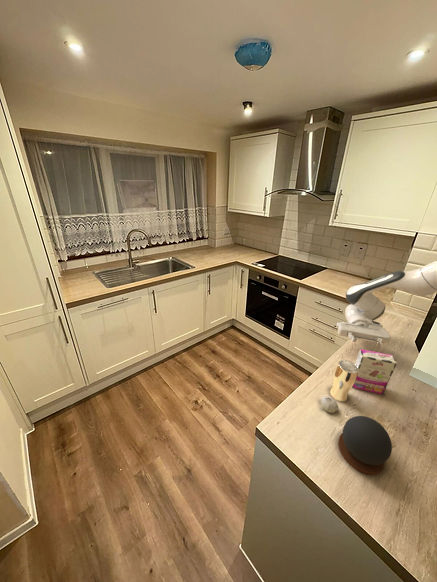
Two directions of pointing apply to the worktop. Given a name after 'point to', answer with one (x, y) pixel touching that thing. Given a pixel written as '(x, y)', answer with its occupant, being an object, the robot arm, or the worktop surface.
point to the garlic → (329, 404)
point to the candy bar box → (374, 371)
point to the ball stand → (365, 445)
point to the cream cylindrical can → (344, 379)
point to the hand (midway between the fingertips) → (366, 343)
